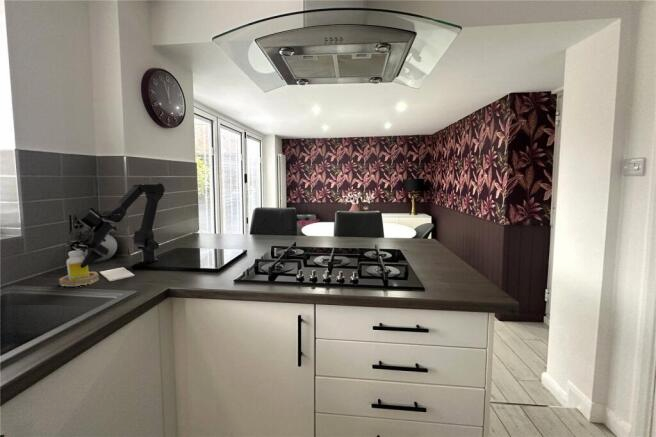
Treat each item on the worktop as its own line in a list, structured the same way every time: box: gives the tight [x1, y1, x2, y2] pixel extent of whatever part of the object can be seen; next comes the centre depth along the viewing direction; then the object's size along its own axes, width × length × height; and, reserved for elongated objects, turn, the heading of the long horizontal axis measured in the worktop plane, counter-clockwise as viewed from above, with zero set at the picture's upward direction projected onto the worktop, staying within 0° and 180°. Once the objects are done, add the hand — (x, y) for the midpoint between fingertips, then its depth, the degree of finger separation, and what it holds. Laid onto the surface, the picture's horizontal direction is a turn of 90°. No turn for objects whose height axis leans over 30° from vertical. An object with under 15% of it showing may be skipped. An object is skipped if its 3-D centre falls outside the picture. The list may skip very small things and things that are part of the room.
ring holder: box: [58, 271, 100, 287], centre depth 131 cm, size 12×12×2 cm
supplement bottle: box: [65, 250, 90, 281], centre depth 130 cm, size 7×7×13 cm
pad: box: [99, 266, 135, 282], centre depth 140 cm, size 16×9×1 cm, turn 47°
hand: (73, 266), depth 129 cm, fingers open, 9 cm apart
